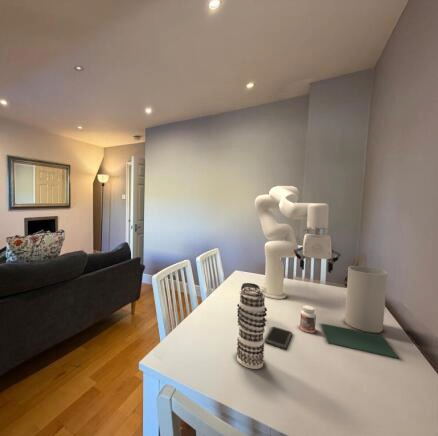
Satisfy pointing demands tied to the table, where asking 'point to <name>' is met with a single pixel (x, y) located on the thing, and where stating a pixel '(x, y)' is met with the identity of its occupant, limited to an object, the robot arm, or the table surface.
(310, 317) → the pill bottle
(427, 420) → the table surface
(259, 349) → the black white tall cylinder
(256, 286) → the coffee cup
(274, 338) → the cell phone
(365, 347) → the right mat
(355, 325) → the cylinder vase
